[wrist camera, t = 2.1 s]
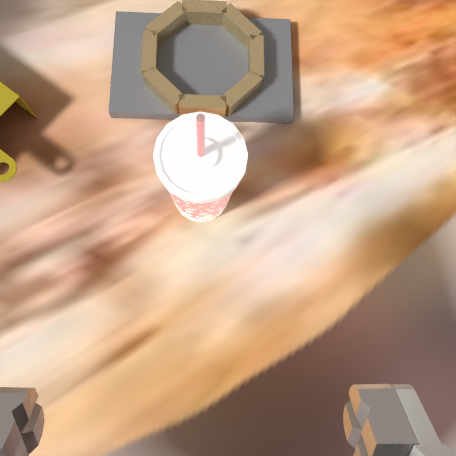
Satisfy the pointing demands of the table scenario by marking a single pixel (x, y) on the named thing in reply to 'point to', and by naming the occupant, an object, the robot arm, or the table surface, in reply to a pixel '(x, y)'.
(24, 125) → the table surface
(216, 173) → the beverage cup
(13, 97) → the bracket
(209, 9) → the socket
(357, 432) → the robot arm
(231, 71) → the board
